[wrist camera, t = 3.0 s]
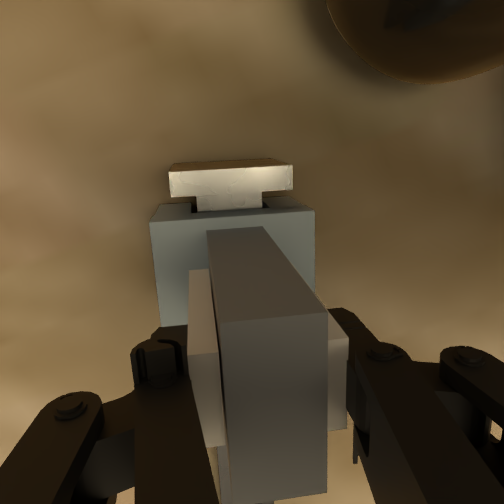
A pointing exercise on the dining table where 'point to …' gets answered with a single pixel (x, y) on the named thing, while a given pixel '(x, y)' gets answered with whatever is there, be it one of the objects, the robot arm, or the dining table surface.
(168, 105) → the dining table surface
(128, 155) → the dining table surface
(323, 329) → the carriage
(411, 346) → the dining table surface
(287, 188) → the rail
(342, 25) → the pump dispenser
